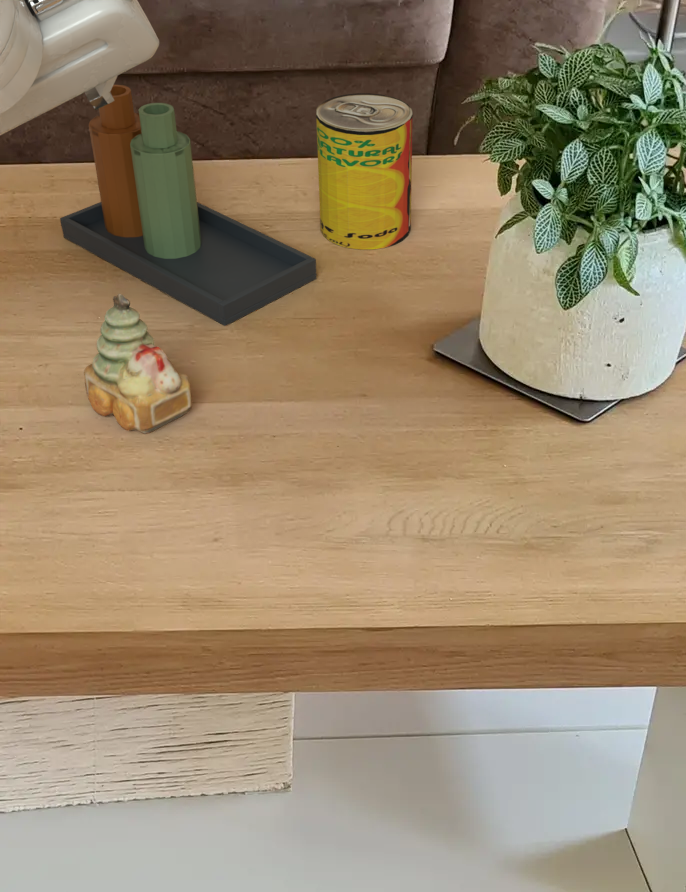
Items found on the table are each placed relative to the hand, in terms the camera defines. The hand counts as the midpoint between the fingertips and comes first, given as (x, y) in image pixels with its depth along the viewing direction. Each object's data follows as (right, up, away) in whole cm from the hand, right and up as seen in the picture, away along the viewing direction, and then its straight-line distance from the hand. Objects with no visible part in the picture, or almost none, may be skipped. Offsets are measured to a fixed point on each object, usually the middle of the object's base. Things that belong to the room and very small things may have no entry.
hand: (39, 128), depth 80 cm
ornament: (+4, -19, +12) cm, 23 cm away
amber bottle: (-3, -1, +35) cm, 35 cm away
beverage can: (+20, 0, +37) cm, 42 cm away
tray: (+3, -4, +31) cm, 31 cm away
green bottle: (+2, -3, +32) cm, 32 cm away
